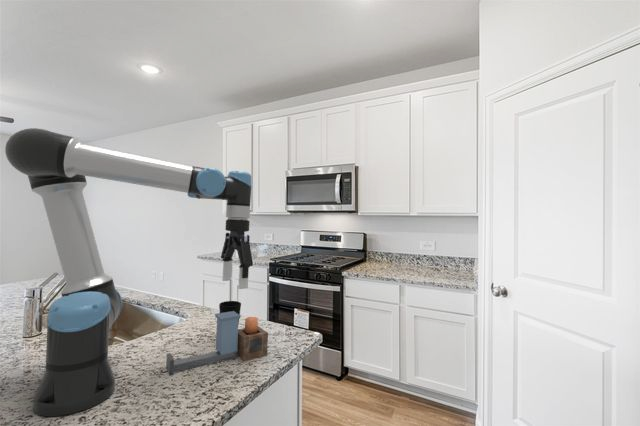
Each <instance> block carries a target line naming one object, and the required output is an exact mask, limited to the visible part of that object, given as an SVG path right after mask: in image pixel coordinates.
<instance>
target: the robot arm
mask: <svg viewBox="0 0 640 426" xmlns="http://www.w3.org/2000/svg"><path fill="white" fill-rule="evenodd" d="M4 147H5V149H4V150H5V151H4V152H5V156H6V158H7V161H8V162H9V163H10V165H11V166H12V167H13V168H14V169H15V170H16V171H18V172H20V173H22V174H24V175H26V176H27V177H28V181H29V185H30V187H31V191H32V192H33V193H35V194H37V195H39V196H40V197H41V198H42V202H43V205H44V210H45V213H46V218H47V221H48V223H49V227H50V231H51V235H52V237H53V240H54V241H53V242H54V245H55V249H56V252H57V256H58V260H59V264H60V266H61V270H62V274H63V276H64V277H63V278H64V279H65V280H64V281H65V286H64V287H63V288H62V290H61V291H60V294H61V297H59V298H57V299H56V300H54V301H53V302H52V303H51V304H50V306H49V307H48V314H47V316H46V324H47V327H46V353H45V370H44V373H43V375H42V378H41V380H40V382H39V385H38V387H37V390H36V392H35V394H34V397H33V406H32V407H33V412H34V413H35V414H37V415H39V416H42V417H61V416H66V415H71V414H75V413H79V412H82V411H86V410H88V409H91V408H92V407H93V408H94V407H95V406H97V405H99V404H101V403H103V402H104V401H105V400H107V399H108V398H109V397H110V396H112V395H113V393H114V392H115V386H116V377H115V375H114V372H113V369H112V366H111V363H110V361H109V355H108V354H109V333H110V329H111V327H112V326H113V324H114V323H115V322H116V321H117V319H118V317H119V316H120V314H121V311H122V310H123V299H122V295H121V293H120V292H119V291H118V290H117V289H116V286H115V283H114V280H113V276H110V275H108V274H106V273H105V272H104V268H103V264H102V260H101V257H100V253H99V249H98V245H97V242H96V237H95V233H94V231H93V226H92V222H91V220H90V219H91V218H90V215H89V211H88V208H87V204H86V200H85V197H84V193H83V190H84V189H85V188H86V186H87V185H88V182H87V178H86V177H89V178H90V177H91V178H96V179H103V180H108V181H115V182H120V183H124V184H126V183H127V184H134V185H139V186H144V187H150V188H151V187H152V188H156V189H163V190H169V191H175V192H181V193H187V196H188V198H193V199H203V200H204V199H205V200H206V199H207V200H222V201H226V209H225V210H226V211H225V217H226V218H227V219H226V220H225V227H224V228H225V231H227V232H225V236H224V237H225V239H224V243H223V246H222V251H221V256H220V258H221V259H222V261H223V265H222V281H223V282H228V281H231V280H232V269H233V267H232V266H233V261H234V259H233V256H234V253H235V251H236V252H237V256H238V260H239V263H240V265H239V266H238V268H239V272H238V273H239V274H238V290H243V289H248V288H249V287H248V286H249V269H250V267H252V266H254V263H253V256H252V251H251V250H252V249H251V245H250V235H249V234H246V233H247V232H249V231H250V220H248V219H250V218H251V217H250V215H251V212H252V211H251V200H252V188H253V186H252V175H251V174H250V173H249V172H247V171H240V170H231V171H228V174H227V176H225V174H224V172H222V171H221V170H220V169H217V168H216V167H215V168H214V167H206V168H204V167H200V166H194V165H191V164H190V165H189V164H186V163H180V162H175V161H172V160H167V159H161V158H158V157H153V156H152V157H151V156H145V155H142V154H136V153H131V152H126V151H121V150H116V149H112V148H107V147H101V146H97V145H91V144H88V143H83V142H81V140H80V139H79V138H77V137H75V136H70V135H65V134H61V133H58V132H54V131H51V130H47V129H44V128H43V129H42V128H36V127H35V128H34V127H33V128H26V129H25V128H24V129H21V130H19V131H16V132H14V134H12V135H11V136H10V137H9V138H8V140H7V141H6V143H5V146H4ZM245 232H246V233H245Z"/></svg>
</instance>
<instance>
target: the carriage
mask: <svg viewBox="0 0 640 426" xmlns="http://www.w3.org/2000/svg"><path fill="white" fill-rule="evenodd" d="M214 315H215V316H214V317H215V318H216V334H215V335H216V336H215V337H216V339H215V340H216V341H215V350H216V351H218V352H219V353H220V354H221V355H222V354H226V353H231V352H235V351H237V344H238V329H239V325H238V319H239V320H240V319H241V314H240V315H239V314H237V313H236V312H235V311H231V312H224V313H220V312H218V313H215V314H214Z"/></svg>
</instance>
